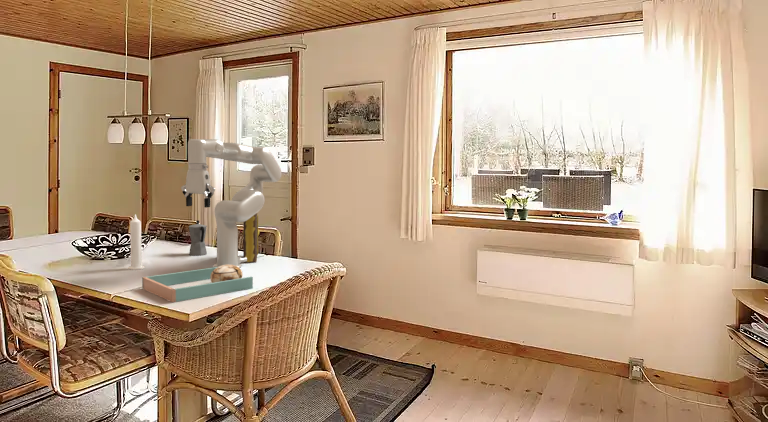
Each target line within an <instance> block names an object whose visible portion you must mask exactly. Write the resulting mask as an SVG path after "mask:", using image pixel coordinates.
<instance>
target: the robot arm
mask: <svg viewBox="0 0 768 422" xmlns="http://www.w3.org/2000/svg"><path fill="white" fill-rule="evenodd" d="M207 158H212V159H217V160H218V159H219V160H224V161H229V162H230V161H231V162H236V163H237V162H238V163H243V164H247V165H254V166H252V168H251V169H250V173H249V181H248V184H247V185H246V186H244V187H242V188H241V189H240V190H238V191H237V192H236V193H234V194H233V196H232V197H231V200H230V199H229V200H228V199H227V200H226V199H225V200H224V199H223V200H220V201H219V202H217V203H216V204H215V206H214V211H213V212H214V217H215V222H216V263H214V264H213V268H214V267H219V266H222V265H228V264H229V265H235V266H237V267H239V268H240V269H241V267H242V264H241V263H244V262H245V261H247V258H246V257H245V258H243V257H241V256H239V229H238V228H239V227H238V225H237V223H244V222H245V221H247V220H248V219H250V218H251V217H252V216H253V215H255V214H256V213H257V214H258V213H259V212H260V211H261V210H262V209H263V207H264V205H265V195H264V194H263V193H264V183H266V182H267V183H276V182H278V181H280V180H281V178H282V169H281V167H280V165H279V163H278V161H277V160H276V158H275V157H274V155H273V153H272V152H271V151H270V150H269V148H267V147H265V146H252V145H247V144H241V143H236V142H222V141H221V140H219V139H216V138H215V139H214V138H212V139H211V138H200V139H199V138H191V139H188V142H187V160H188V161H187V162H188V170H187V171H186V172H187V173H186V179H185V184H183V185H182V186H180V189H181V191H182V194H183V195H184V197H185V206H186V207H192V206H193V194H194V195H195V194H196V195H197V194H198V195H203V197H204V198H203V201H204V204H203V206H204V208H205V209H206V208H210V207H211V199H212V197H213V195H215V191H216V188H215V187H214V186H212V185H211V179H210V177H211V176H210V172H209V170H207V169H209V165H207Z"/></svg>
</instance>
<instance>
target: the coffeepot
mask: <svg viewBox="0 0 768 422" xmlns="http://www.w3.org/2000/svg"><path fill="white" fill-rule="evenodd" d="M188 230H189V236H190V240H191V241H190V246H189V252H188V253H189V254H188V255H189V256H191V255H192V256H193V257H194V256H195V257H199V256H200V257H201V256H206V255H207V252H208V251H207V246H206V242H205V239H206V234H207V225H205V224H201V223H200V220H196V224H192V225H189V226H188Z"/></svg>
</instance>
